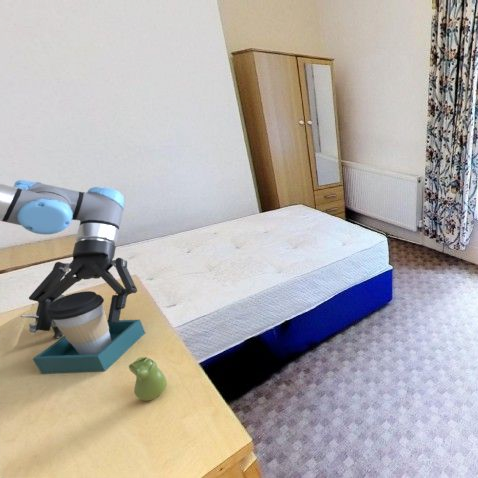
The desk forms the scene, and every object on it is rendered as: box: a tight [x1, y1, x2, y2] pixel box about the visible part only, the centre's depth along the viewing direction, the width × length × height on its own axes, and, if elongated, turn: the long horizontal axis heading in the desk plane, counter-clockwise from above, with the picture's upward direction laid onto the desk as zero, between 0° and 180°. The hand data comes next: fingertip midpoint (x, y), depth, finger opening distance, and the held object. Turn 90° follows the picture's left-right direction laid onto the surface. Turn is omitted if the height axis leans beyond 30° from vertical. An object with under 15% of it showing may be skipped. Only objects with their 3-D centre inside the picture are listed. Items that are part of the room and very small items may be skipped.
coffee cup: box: [47, 290, 112, 355], centre depth 78 cm, size 9×9×15 cm
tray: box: [32, 319, 146, 375], centre depth 80 cm, size 14×14×5 cm
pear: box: [128, 356, 168, 402], centre depth 68 cm, size 6×5×10 cm
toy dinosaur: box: [20, 294, 65, 340], centre depth 87 cm, size 22×8×11 cm, turn 42°
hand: (78, 326), depth 76 cm, fingers open, 13 cm apart
